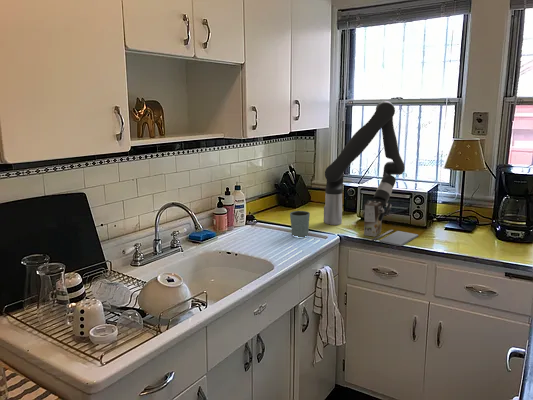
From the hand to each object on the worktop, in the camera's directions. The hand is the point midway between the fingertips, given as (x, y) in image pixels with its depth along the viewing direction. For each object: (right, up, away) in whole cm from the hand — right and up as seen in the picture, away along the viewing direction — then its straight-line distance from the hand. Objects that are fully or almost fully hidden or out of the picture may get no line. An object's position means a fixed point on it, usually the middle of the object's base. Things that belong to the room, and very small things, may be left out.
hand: (371, 218), depth 231 cm
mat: (+12, -10, -7) cm, 17 cm away
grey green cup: (-36, -9, +3) cm, 38 cm away
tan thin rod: (+5, -8, -1) cm, 10 cm away
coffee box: (+1, -8, +3) cm, 9 cm away
